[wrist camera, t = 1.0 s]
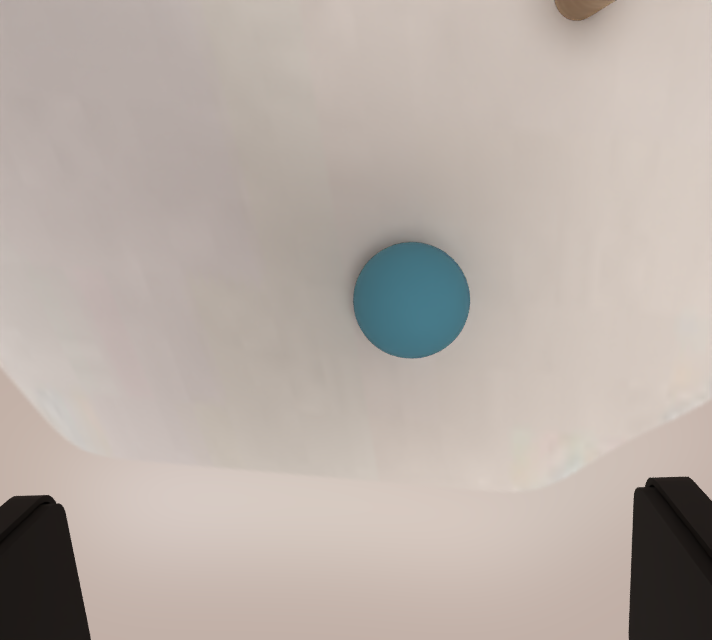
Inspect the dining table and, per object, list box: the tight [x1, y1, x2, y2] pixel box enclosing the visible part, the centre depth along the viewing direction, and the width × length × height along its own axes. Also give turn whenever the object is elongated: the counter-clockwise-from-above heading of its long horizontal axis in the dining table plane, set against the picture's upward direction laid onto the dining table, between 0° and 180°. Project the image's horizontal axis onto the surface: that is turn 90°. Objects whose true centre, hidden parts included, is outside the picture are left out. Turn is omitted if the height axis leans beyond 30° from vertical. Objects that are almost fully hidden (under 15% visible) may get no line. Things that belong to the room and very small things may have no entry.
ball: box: [353, 242, 470, 358], centre depth 33 cm, size 6×6×6 cm
